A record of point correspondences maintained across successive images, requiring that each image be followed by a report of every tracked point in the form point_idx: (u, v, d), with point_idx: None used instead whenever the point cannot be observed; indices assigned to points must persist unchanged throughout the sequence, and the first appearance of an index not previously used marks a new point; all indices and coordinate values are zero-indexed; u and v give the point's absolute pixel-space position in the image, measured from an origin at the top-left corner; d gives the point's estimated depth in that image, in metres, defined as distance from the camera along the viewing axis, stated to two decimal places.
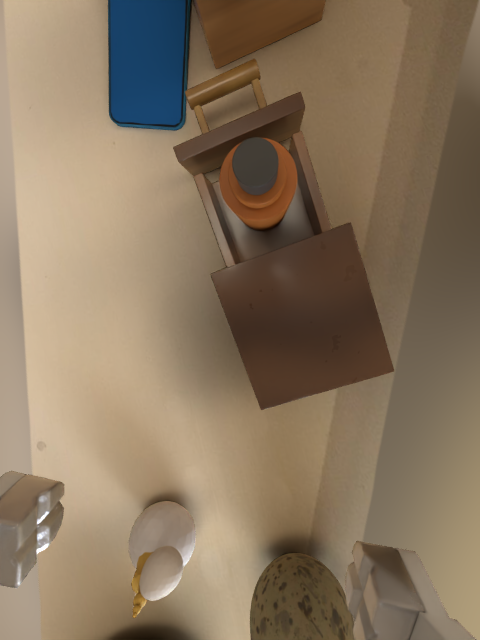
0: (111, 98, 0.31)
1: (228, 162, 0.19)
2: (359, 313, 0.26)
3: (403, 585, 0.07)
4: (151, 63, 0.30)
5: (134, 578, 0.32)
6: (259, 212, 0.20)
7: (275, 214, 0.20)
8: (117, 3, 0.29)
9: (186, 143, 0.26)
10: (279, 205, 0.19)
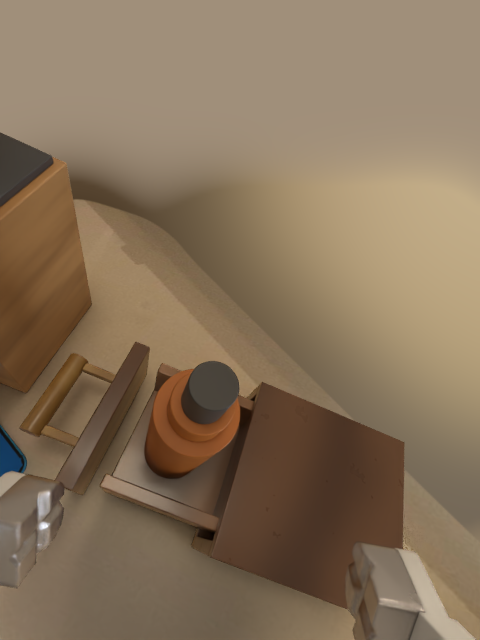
0: None
1: (160, 422, 0.16)
2: (340, 432, 0.25)
3: (403, 585, 0.07)
4: None
5: None
6: (225, 432, 0.17)
7: (238, 419, 0.17)
8: None
9: (66, 465, 0.20)
10: None
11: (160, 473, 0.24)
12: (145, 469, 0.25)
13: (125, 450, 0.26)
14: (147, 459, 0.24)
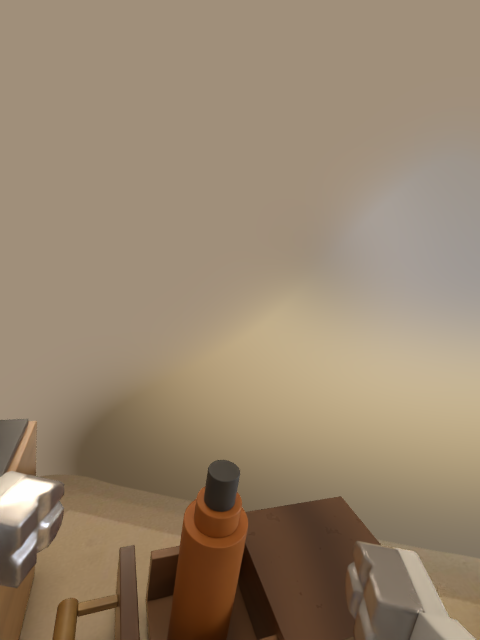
0: None
1: (199, 537, 0.22)
2: (303, 513, 0.33)
3: (403, 585, 0.07)
4: None
5: None
6: (241, 520, 0.23)
7: (243, 510, 0.24)
8: None
9: None
10: None
11: None
12: None
13: None
14: None
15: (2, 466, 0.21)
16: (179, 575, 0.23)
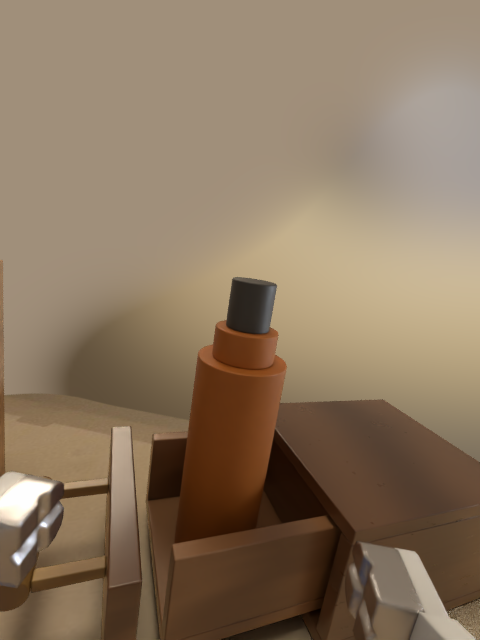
0: None
1: (222, 366, 0.15)
2: (341, 409, 0.26)
3: (403, 585, 0.07)
4: None
5: None
6: (277, 362, 0.17)
7: (277, 356, 0.18)
8: None
9: (112, 559, 0.13)
10: None
11: None
12: None
13: (158, 577, 0.17)
14: None
15: None
16: (192, 433, 0.17)
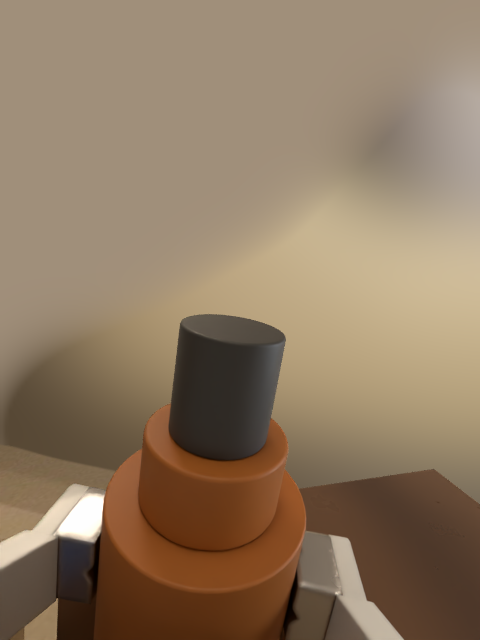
0: None
1: (146, 551, 0.06)
2: (379, 496, 0.17)
3: (327, 569, 0.07)
4: None
5: None
6: (284, 497, 0.08)
7: (284, 471, 0.09)
8: None
9: None
10: None
11: None
12: None
13: None
14: None
15: None
16: None
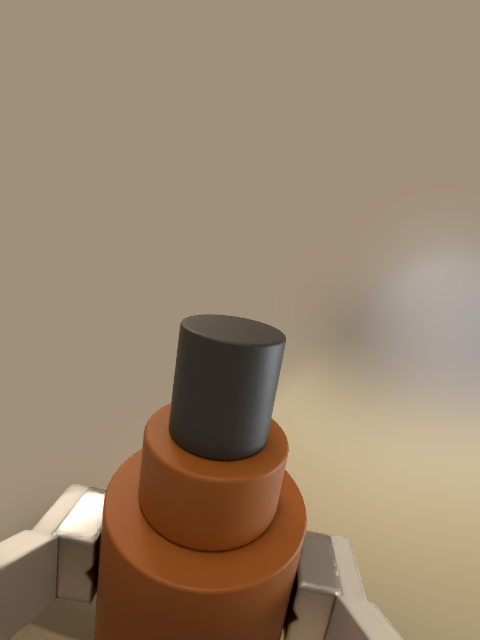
0: None
1: (147, 551, 0.06)
2: None
3: (327, 569, 0.07)
4: None
5: None
6: (285, 497, 0.08)
7: (284, 471, 0.09)
8: None
9: None
10: None
11: None
12: None
13: None
14: None
15: None
16: None
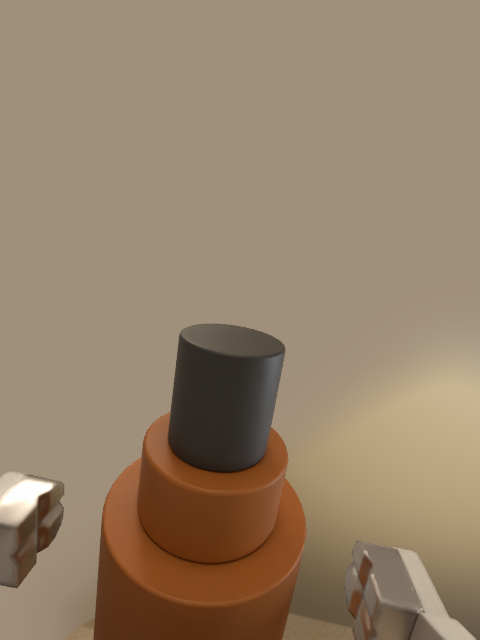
0: None
1: (145, 564, 0.06)
2: None
3: (403, 585, 0.07)
4: None
5: None
6: (284, 506, 0.08)
7: (284, 479, 0.09)
8: None
9: None
10: None
11: None
12: None
13: None
14: None
15: None
16: None
